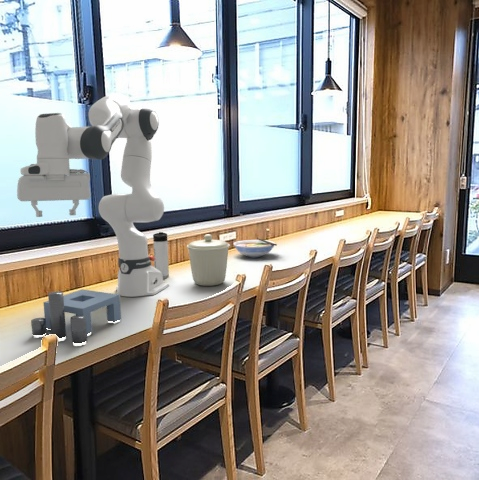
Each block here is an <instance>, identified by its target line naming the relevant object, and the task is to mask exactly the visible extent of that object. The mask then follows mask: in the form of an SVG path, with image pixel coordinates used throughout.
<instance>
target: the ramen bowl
mask: <svg viewBox="0 0 479 480" xmlns="http://www.w3.org/2000/svg"><path fill="white" fill-rule="evenodd" d="M233 245H234V247H235V249H236V250H237V252H238V253H240V254H241V255H244V256H246V257H248V258H261V257H262V256H264V255H267V254H269V253H270V252H271V251H272V250H273V248H274V247H275V246H277V243H276V242H274V241H272V240H266V239H265V240H264V239H261V238H258V239H245V240H238V241H235V242H233Z"/></svg>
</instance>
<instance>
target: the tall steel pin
mask: <svg viewBox="0 0 479 480" xmlns="http://www.w3.org/2000/svg"><path fill="white" fill-rule="evenodd" d="M63 296H64V292H63V291H51V292H48V294H47V298H48V299H47V300H48V301H49V311H50V323H51V331H50V333H51V334H56V335H57V336H58V337H59V338H62V337H65V336H66V337H67V326H66V315H65V314H66V312H65V311H64V298H63Z"/></svg>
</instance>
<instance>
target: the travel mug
mask: <svg viewBox="0 0 479 480" xmlns="http://www.w3.org/2000/svg"><path fill="white" fill-rule="evenodd" d="M152 237H153V240H152V241H153V256H154V257H155V260H154V261H153V266H154V267H155V268H156V269H158V270H159V271H160V272H161V273H162V277H163V280H165V279H168V278H169V277H170V270H169V268H170V267H169V243H168V242H169V241H168V233H165V232H161V231H159V232H156V233H154V234H153V235H152Z"/></svg>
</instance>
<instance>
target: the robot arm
mask: <svg viewBox="0 0 479 480" xmlns="http://www.w3.org/2000/svg"><path fill="white" fill-rule="evenodd" d="M66 120H67V119H66V116H65V115H64V113H61V112H51V113H40V114H39V115H38V116H37V117H36V121H35V131H34V132H35V145H36V148H37V154H36V163H31V164H30V165H26V166H24V167H21V168H20V174H21V176H19V178H18V180H17V186H16V187H17V189H16V193H17V194H16V196H17V200H18V201H20V202H30V203H31V204H30V205H31V206H32V209H34V211H35V217H36V218H41V217H43V210H42V209H41V210H40V209H39V208H38V207H37V206H38V204H39V203H38V202H48V201H49V202H50V201H51V202H52V201H72V204H74V205H72V208H71V209H68V211H69V213H68V215H69V216H76V214H77V213H76V212H77V211H76V210H77V208H78V207H79V204H80V201H84V200H85V201H87V200H89V199H90V198H91V197H92V196H91V194H92V193H91V186H90V181H91V175H90V172H88V171H87V170H85V169H83V168H82V169H81V168H80V169H76V168H75V169H74V168H70V160H88V159H89V160H104V159H105V158H106V157H107V156H109V154H110V151H111V149H112V146H113V144H114V143H115V141H116V140H117V139H126V143H125V147H124V150H123V156H122V161H121V170H120V178H121V181H122V182H123V183H124V184H125V185H127V186H128V187H131V193H113V194H108V195H104V196H102V198H101V199H100V201H99V202H98V213H99V215H100V217H101V218H102V219H103V220H104V221H105V222H107V223H108V224H109V225H110V227H111V229H113V232H114V234H115V236H116V240H117V245H118V259H117V260H118V261H117V263H118V265H117V266H118V268H119V270H117V286H116V288H115V291H116V290H117V291H116V294H118V295H120V296H121V297H129V298H130V297H143V296H154V295H157V294H159V293H160V292H161V291H163V290H164V289H166V288H167V287H169V286H170V284H169V282H166V281H164V279H163V277H162V273H161V272H160V271H159V270H158V269H156V268H155V267H154V265H152V262H154V260H155V257H154V255H149V252H148V250H149V249H148V238H147V236H146V235H145V234H144V233H143V232H141V231H140V230H138V229H137V228H136V226H135V225H134V223H151V222H156V221H159V220H160V219H161V218H162V217H163V215H164V213H165V205H164V201H163V200H162V198H161V197H160V196H159V195H158V194H157V193H156V192H155V191H154V190H153V187H152V185H151V168H152V167H151V166H152V156H153V155H152V153H153V151H152V142H151V140H153V138H154V136H155V135H156V133H157V131H158V129H159V126H160V125H159V124H160V123H159V117H158V114H157V112H156V110H155V109H153V108H151V107H145V106H142V107H132V105H131V102H130V100H129V99H128V98H127V96H126V95H124V94H122V93H117V92H116V93H111V94H108V95H106V96H103V97H102V98H100V99H99V100H97V101H96V102H94V103H93V104H92V105H91V107H89V110H88V121H89V124H90V126H72V125H70V124H69V123H68V122H67V121H66ZM151 261H152V262H151Z"/></svg>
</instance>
